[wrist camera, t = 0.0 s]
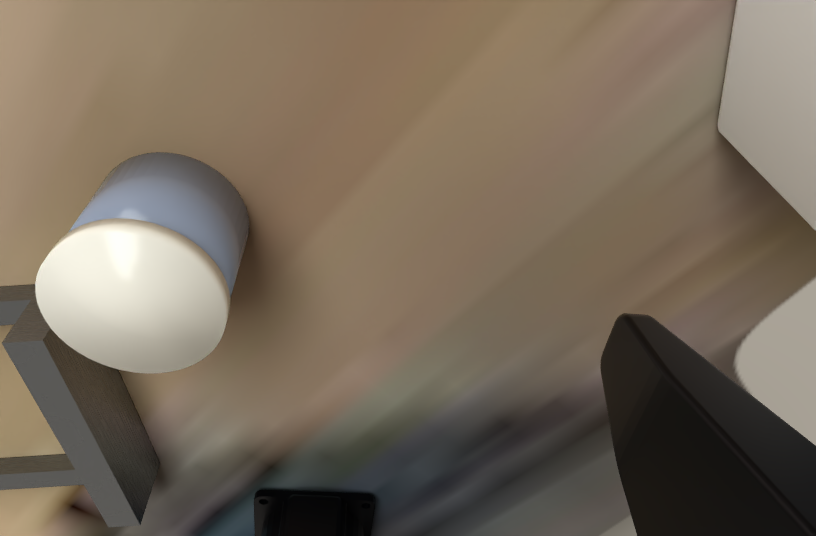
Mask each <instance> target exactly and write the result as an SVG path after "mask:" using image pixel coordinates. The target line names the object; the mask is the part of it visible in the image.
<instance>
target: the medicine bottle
mask: <svg viewBox="0 0 816 536" xmlns="http://www.w3.org/2000/svg"><path fill="white" fill-rule="evenodd" d="M717 125H718V130H719V132H720V133H721V134H722V135H723V136H724V137H725V138H726V139H727V140H728V141H729V142H730V143H731V144H732V145H733V146H734V147H735V148H736V150H737V151H738V152H739V153H740V154H741V155H742V156H743V157H744V158H745V159H746V160H747V161H748V162H749V163H750V164H751V165H752V166H753V167H754V168H755V169H756V170H757V171H758V172H759V173H760V174H761V175H762V176H763V177H764V178H765V179H766V180H767V181H768V182H769V183H770V184H771V186H772V187H773V188H774V189H775V190H776V191H777V192H778V193H779V194H780V195H781V196H782V197H783V198H784V199H785V200H786V201H787V202H788V203H789V204H790V205H791V206H792V207H793V208H794V209H795V210H796V211H797V212H798V213H799V214H800V215H801V216H802V217H803V218H804V219H805V221H806V222H807V223H808V224H809V225H810V226H811V227H812V228H813V229H814V230H815V231H816V0H737V2H736V8H735V14H734V21H733V27H732V34H731V40H730V47H729V53H728V59H727V66H726V72H725V79H724V85H723V92H722V98H721V104H720V111H719V117H718V124H717Z"/></svg>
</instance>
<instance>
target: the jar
mask: <svg viewBox="0 0 816 536" xmlns="http://www.w3.org/2000/svg"><path fill="white" fill-rule="evenodd" d="M248 234H249V217H248V213H247V209H246V206H245V204H244V202H243V200H242V198H241V196H240V194H239V193H238V191H237V190H236V189H235V187H234V186H233V185H232V184H231V183H230V182H229V181H228V180H227V179H226V178H225V177H224V176H223V175H222V174H220V173H219V172H218V171H216V170H215V169H213V168H212V167H210V166H209V165H207V164H205V163H203V162H201V161H198V160H196V159H193V158H191V157H187V156H183V155H180V154H174V153H161V152H156V153H147V154H142V155H138V156H135V157H132V158H129V159H127V160H126V161H124V162H122V163H120V164H119V165H118V166H116V167H115V168H114V169H113V170H112V171H111V172H110V173H109V174H108V176H107V177H106V179H105V180H104V182H103V183H102V184H101V186H100V187H99V189H98V190H97V192H96V193H95V195H94V196H93V197H92V199H91V200H90V202H89V203H88V205H87V206H86V208H85V209H84V210H83V212H82V213H81V215H80V216H79V218H78V219H77V221H76V222H75V223H74V225H73V226H72V228H71V229H70V231H69V232H68V233H67V234H66V235H64V236H63V237H62V238H61V239H60V240H59V241H58V242H57V243H56V245H55V246H54V247H53V249H52V250H51V252H50V253H49V255H48V256H47V257H46V259H45V260H44V262H43V263H42V265H41V267H40V269H39V272H38V274H37V278H36V284H35V293H36V299H37V303H38V306H39V309H40V311H41V313H42V315H43V317H44V319H45V321H46V322H47V324H48V325H49V326H50V328H51V329H52V330H53V331H54V332H55V334H56V335H57V336H58V337H59V338H60V339H61V340H63V341H64V342H65V343H66V344H67V345H68V346H70V347H71V348H73V349H74V350H75V351H77V352H79V353H80V354H82V355H84V356H85V357H87V358H89V359H91V360H93V361H96V362H98V363H100V364H103V365H106V366H108V367H112V368H115V369H119V370H123V371H129V372H136V373H166V372H172V371H177V370H180V369H184V368H187V367H189V366H191V365H194V364H196V363H197V362H199V361H201V360H203V359H204V358H205V357H206V356H208V355H209V354H210V353H211V352H212V351H213V350H214V349H215V348H216V346H217V345H218V343H219V342H220V340H221V338H222V335H223V333H224V330H225V326H226V323H227V319H228V315H229V311H230V298H231V294H232V291H233V287H234V284H235V281H236V277H237V274H238V270H239V267H240V263H241V260H242V256H243V253H244V249H245V246H246V243H247V239H248Z"/></svg>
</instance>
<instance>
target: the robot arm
mask: <svg viewBox="0 0 816 536" xmlns="http://www.w3.org/2000/svg"><path fill="white" fill-rule="evenodd" d="M601 375H602V381H603V387H604V393H605V399H606V405H607V410H608V416H609V422H610V428H611V434H612V440H613V446H614V451H615V456H616V461H617V466H618V470H619V474H620V477H621V481H622V485H623V488H624V492H625V495H626V498H627V502H628V505H629V509H630V512H631V516H632V519H633V522H634V526H635V529H636V533H637V536H816V446H815V445H814V444H813V443H811V442H810V441H809V440H808V439H806V438H805V437H804V436H803V435H801V434H800V433H799V432H797V431H796V430H795V429H794V428H792V427H791V426H790V425H788V424H787V423H786V422H785V421H783V420H782V419H781V418H780V417H778V416H777V415H776V414H774V413H773V412H772V411H771V410H769V409H768V408H767V407H766V406H764V405H763V404H762V403H761V402H759V401H758V400H757V399H755V398H754V397H753V396H752V395H750V394H749V393H748V392H747V391H745V390H744V389H743V388H742V387H740V386H739V385H738V384H736V383H735V382H734V381H733V380H731V379H730V378H729V377H728V376H726V375H725V374H724V373H722V372H721V371H720V370H719V369H717V368H716V367H715V366H714V365H712V364H711V363H710V362H708V361H707V360H706V359H705V358H703V357H702V356H701V355H700V354H698V353H697V352H696V351H694V350H693V349H692V348H691V347H689V346H688V345H687V344H686V343H684V342H683V341H682V340H680V339H679V338H678V337H677V336H675V335H674V334H673V333H672V332H670V331H669V330H668V329H667V328H665V327H664V326H663V325H661V324H660V323H659V322H658V321H656V320H655V319H654V318H652V317H651V316H648V315H642V314H627V313H625V314H622V315H620V316H619V317H618V318H617V320H616V321H615V324H614V326H613V329H612V331H611V334H610V336H609V338H608V341H607V343H606V346H605V348H604V351H603V353H602V357H601ZM374 509H375V498H374V496H372V495H370V494H355V493H330V492H306V491H282V490H260V491H257V492H256V493H255V498H254V521H255V536H370V535H371V529H372V522H373V516H374Z"/></svg>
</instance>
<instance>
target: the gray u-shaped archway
mask: <svg viewBox="0 0 816 536" xmlns="http://www.w3.org/2000/svg"><path fill="white" fill-rule="evenodd" d="M12 324H14V326H13V327H12V329H11V330H10V332H9V333H8V335H7V336H6V338H5V339H4V341H3V342H2V344H3V346H4V348H5V349H6V351H7V353H8V355H9V356H10V358H11V360H12V362H13V363H14V365H15V367H16V368H17V370H18V372H19V374H20V375H21V377H22V379H23V380H24V382H25V384H26V386H27V387H28V389H29V391H30V393H31V394H32V396H33V398H34V399H35V401H36V403H37V405H38V406H39V408H40V410H41V412H42V413H43V415H44V417H45V418H46V420H47V422H48V424H49V425H50V427H51V429H52V431H53V432H54V434H55V436H56V437H57V439H58V441H59V443H60V444H61V446H62V448H63V449H64V451H65V453H66V454H62V455H47V456H31V457H16V458H0V490H6V489H22V488H38V487H53V486H69V485H84V486H85V487H86V489H87V491H88V493H89V494H90V496H91V498H92V499H93V501H94V503H95V505H96V506H97V508H98V510H99V512H100V513H101V515H102V517H103V518H104V520H105V522H106V524H107V525H108V527H120V526H136V525H140V524H141V521H142V518H143V515H144V512H145V509H146V505H147V502H148V499H149V496H150V493H151V490H152V487H153V484H154V481H155V477H156V474H157V471H158V468H159V465H160V462H159V460H158V458H157V456H156V453H155V451H154V449H153V447H152V445H151V442H150V440H149V438H148V436H147V433H146V431H145V429H144V427H143V425H142V422H141V420H140V418H139V416H138V414H137V411H136V409H135V407H134V405H133V402H132V400H131V398H130V396H129V394H128V391H127V389H126V387H125V385H124V382H123V380H122V378H121V376H120V374H119V371H118V369H115V368H112V367H108V366H106V365H103V364H100V363H98V362H96V361H93V360H91V359H89V358H87V357H85V356H84V355H82V354H80V353H79V352H77V351H75V350H74V349H73V348H71V347H70V346H68V345H67V344H66V343H65V342H64V341H63V340H61V339H60V338H59V337H58V336H57V335H56V334H55V332H54V331H53V330H52V329H51V328H50V326H49V325H48V324H47V322H46V321H45V319H44V317H43V315H42V313H41V311H40V309H39V306H38V303H37V299H36V293H35V285H21V286H6V287H0V325H12Z"/></svg>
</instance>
